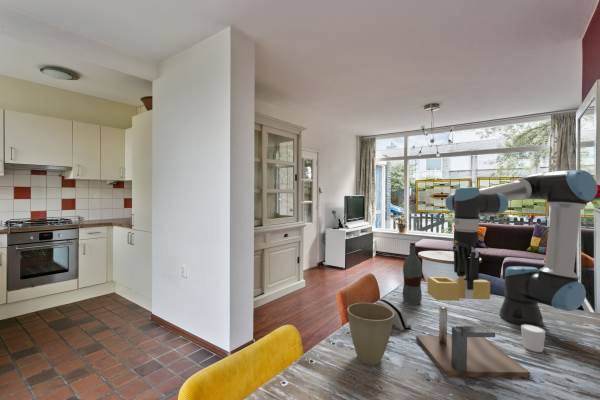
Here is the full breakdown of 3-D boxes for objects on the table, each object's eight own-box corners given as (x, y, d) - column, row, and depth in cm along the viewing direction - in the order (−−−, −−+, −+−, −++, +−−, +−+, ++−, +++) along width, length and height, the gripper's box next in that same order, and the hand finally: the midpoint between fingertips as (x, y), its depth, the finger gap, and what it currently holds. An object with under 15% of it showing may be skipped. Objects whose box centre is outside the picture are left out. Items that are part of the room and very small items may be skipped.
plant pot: (386, 378, 84) (386, 324, 84) (339, 362, 92) (340, 313, 92) (398, 355, 97) (398, 308, 97) (356, 342, 105) (356, 299, 105)
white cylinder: (539, 354, 98) (539, 334, 98) (516, 345, 104) (516, 326, 104) (549, 350, 101) (549, 330, 101) (526, 341, 107) (526, 322, 107)
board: (483, 340, 108) (483, 336, 108) (529, 377, 86) (529, 372, 86) (416, 339, 108) (416, 335, 108) (445, 376, 86) (445, 371, 86)
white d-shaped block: (412, 328, 116) (405, 306, 115) (402, 334, 115) (395, 311, 114) (387, 312, 132) (381, 293, 131) (379, 317, 131) (373, 297, 130)
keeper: (485, 369, 89) (486, 326, 89) (494, 377, 85) (495, 332, 85) (450, 369, 89) (451, 326, 89) (457, 377, 85) (458, 332, 85)
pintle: (444, 345, 104) (445, 306, 104) (448, 348, 101) (448, 309, 101) (437, 345, 104) (438, 306, 104) (441, 348, 101) (441, 309, 101)
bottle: (399, 298, 151) (399, 241, 150) (415, 298, 152) (416, 241, 151) (407, 305, 141) (408, 244, 141) (425, 305, 142) (426, 244, 142)
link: (480, 294, 106) (480, 277, 106) (493, 301, 99) (494, 284, 99) (427, 292, 106) (427, 276, 106) (436, 300, 99) (437, 282, 99)
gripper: (444, 227, 110) (443, 288, 111) (469, 233, 94) (467, 304, 94) (463, 228, 110) (462, 289, 111) (492, 233, 94) (490, 305, 94)
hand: (465, 296), depth 102 cm, fingers closed on link, 3 cm apart
